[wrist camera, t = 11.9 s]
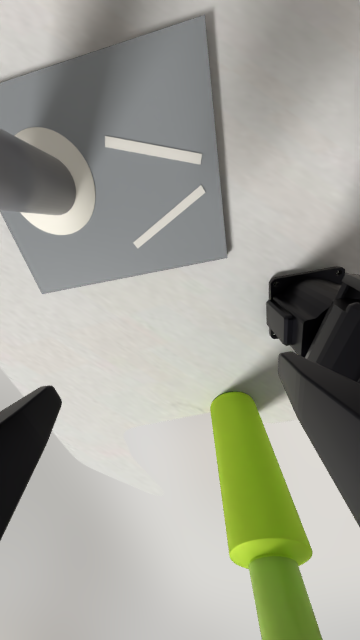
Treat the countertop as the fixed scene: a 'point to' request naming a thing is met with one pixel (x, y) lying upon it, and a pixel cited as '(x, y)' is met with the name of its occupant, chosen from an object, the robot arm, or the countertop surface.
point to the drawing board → (122, 159)
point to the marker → (33, 179)
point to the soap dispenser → (262, 520)
